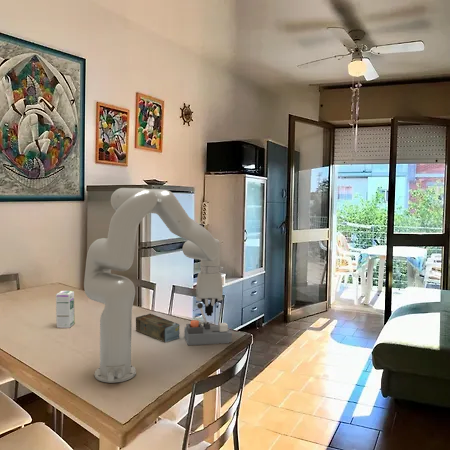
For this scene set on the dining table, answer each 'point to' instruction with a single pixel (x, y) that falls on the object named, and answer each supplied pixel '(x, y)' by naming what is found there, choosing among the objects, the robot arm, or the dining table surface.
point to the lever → (202, 312)
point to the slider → (222, 327)
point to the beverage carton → (157, 327)
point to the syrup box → (65, 309)
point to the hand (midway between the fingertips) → (208, 314)
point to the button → (194, 323)
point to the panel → (206, 335)
